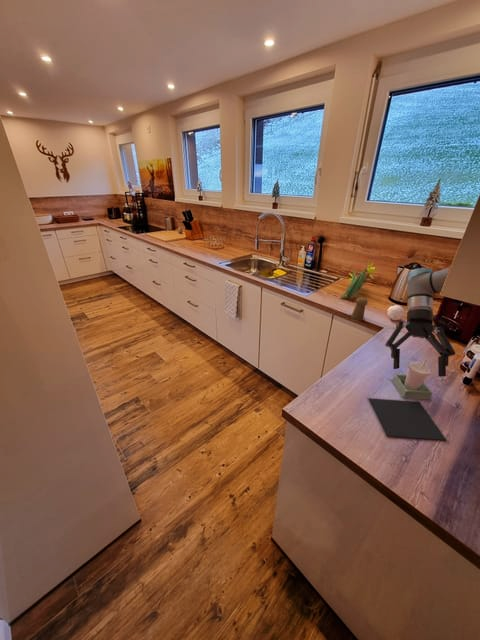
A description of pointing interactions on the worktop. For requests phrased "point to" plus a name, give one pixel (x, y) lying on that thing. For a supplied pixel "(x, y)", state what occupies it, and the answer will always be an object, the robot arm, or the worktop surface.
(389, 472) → the worktop surface
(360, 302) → the brown tapered tower
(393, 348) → the robot arm
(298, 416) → the worktop surface
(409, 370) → the smoothie
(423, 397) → the holder
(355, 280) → the daffodil flowers
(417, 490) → the worktop surface
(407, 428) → the mat
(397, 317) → the geometric ball
